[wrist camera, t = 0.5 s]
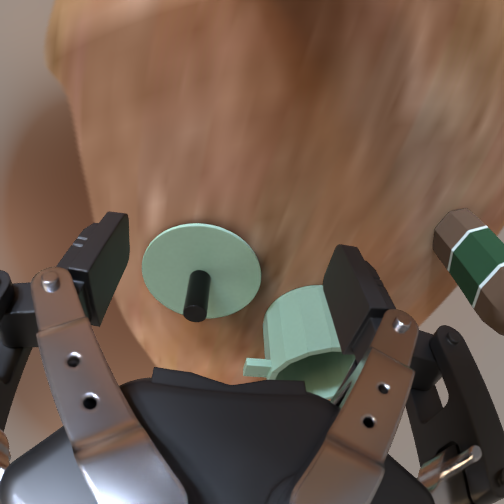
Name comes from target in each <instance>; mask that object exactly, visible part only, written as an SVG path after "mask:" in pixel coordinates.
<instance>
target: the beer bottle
mask: <svg viewBox="0 0 504 504" xmlns="http://www.w3.org/2000/svg"><path fill="white" fill-rule="evenodd" d="M433 250H434V251H435V253H436V254H437V256H438V258H439V259H440V260H441V262H442V263H443V264H444V266H445V267H446V269H447V270H448V271H449V273H450V274H451V276H452V277H453V279H454V280H455V281H456V283H457V284H458V286H459V287H460V289H461V290H462V292H463V293H464V295H465V296H466V298H467V299H468V301H469V302H470V304H471V305H472V307H473V309H474V310H475V311H476V313H477V314H478V315H479V317H480V318H481V320H482V321H483V322H485V323H486V324H487V325H488V326H490V327H491V328H492V329H494V330H495V331H496V332H497V333H499V334H501V335H504V244H503V242H502V241H501V240H500V239H499V238H498V237H497V236H496V235H495V234H494V233H493V232H492V231H491V230H490V229H489V228H488V227H487V226H486V225H485V224H484V223H483V222H482V221H481V220H480V219H479V218H478V217H477V216H476V215H475V214H473V213H472V212H471V211H470V210H468V209H466V208H465V209H460V210H456V211H451V212H448V214H447V215H446V216H445V217H444V218H443V220H442V221H441V222H440V223H439V224H438V226H437V227H436V228H435V233H434V241H433Z"/></svg>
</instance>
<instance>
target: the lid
mask: <svg viewBox="0 0 504 504" xmlns="http://www.w3.org/2000/svg"><path fill="white" fill-rule="evenodd" d="M142 274H143V278H144V282H145V284H146V286H147V288H148V289H149V291H150V292H151V294H152V295H153V296H154V297H155V298H156V299H157V300H158V301H159V302H160V303H162V304H163V305H164V306H166V307H167V308H169V309H171V310H173V311H175V312H177V313H180V314H182V315H184V317H185V318H186V319H187V320H189V321H192V322H201V321H203V320H205V319H206V318H218V317H223V316H227V315H230V314H233V313H235V312H237V311H239V310H241V309H242V308H244V307H245V306H246V305H248V304H249V303H250V302H251V301H252V299H253V298H254V297H255V295H256V293H257V292H258V289H259V287H260V283H261V268H260V264H259V261H258V258H257V256H256V254H255V252H254V251H253V250H252V248H251V247H250V246H249V245H248V244H247V243H246V242H245V241H244V240H243V239H241V238H240V237H239V236H237V235H236V234H234V233H232V232H231V231H228V230H226V229H224V228H221V227H218V226H214V225H209V224H200V223H194V224H184V225H179V226H176V227H172V228H170V229H168V230H166V231H164V232H162V233H161V234H159V235H158V236H157V237H156V238H155V239H154V240H153V241H152V242H151V243H150V244H149V246H148V248H147V249H146V252H145V254H144V257H143V261H142Z"/></svg>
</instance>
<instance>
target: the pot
mask: <svg viewBox="0 0 504 504" xmlns="http://www.w3.org/2000/svg"><path fill="white" fill-rule="evenodd" d="M263 335H264V349H265V359H255V358H247V359H246V362H245V365H244V368H243V376H252V377H266V379H267V380H269V379H270V380H298V381H305V386H306V391H307V392H311V393H313V394H316V395H319V396H321V397H323V398H325V399H332V398H333V396H334V394H335V393H336V391H337V389H338V387H339V386H340V384H341V382H342V380H343V379H344V377H345V375H346V373H347V372H348V370H349V368H350V366H351V364H352V363H353V361H354V360H355V355H342V351H341V348H340V344H339V341H338V337H337V334H336V330H335V327H334V324H333V320H332V317H331V314H330V310H329V307H328V304H327V301H326V298H325V294H324V291H323V285H312V286H305V287H301V288H298V289H295V290H292V291H290V292H288V293H286V294H284V295H282V296H281V297H279V298H278V299H277V300H275V301H274V302H273V303H272V304H271V305H270V307H269V308H268V310H267V311H266V314H265V316H264V323H263Z"/></svg>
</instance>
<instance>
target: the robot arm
mask: <svg viewBox="0 0 504 504" xmlns="http://www.w3.org/2000/svg"><path fill="white" fill-rule="evenodd" d="M129 253H130V245H129V218H128V215H127V214H125V213H117V212H107V213H106V215H105V216H104V217H103V219H102V220H101V221H100V222H99V223H93V224H91V225H90V226H88V227H87V228H85V229H84V230H83V231H82V232H81V234H80V235H79V236H78V239H76V240H75V241H74V243H73V246H71V247H70V248H69V250H68V251H67V252H66V254H65V255H64V256H63V258H62V259H61V260H60V262H59V263H58V265H57V266H56V267H50V268H46V269H44V270H41V271H40V272H38V273H37V274H36V275H35V276H34V277H33V279H32V281H31V283H17V284H12V282H11V279H10V276H9V274H8V273H6V272H5V271H1V270H0V504H492V503H494V502H497V501H498V500H501V499H503V498H504V431H503V428H502V425H501V423H500V420H499V417H498V414H497V412H496V409H495V407H494V404H493V402H492V399H491V397H490V394H489V392H488V389H487V387H486V385H485V383H484V380H483V378H482V376H481V374H480V371H479V369H478V367H477V365H476V363H475V361H474V359H473V357H472V355H471V352H470V350H469V348H468V346H467V344H466V342H465V340H464V339H463V337H462V336H461V334H460V333H459V332H458V331H456V330H455V329H453V328H452V327H450V326H446V325H443V326H440V327H439V328H438V329H437V331H436V332H435V333H434V335H433V334H430V333H426V332H423V331H420V330H419V328H418V325H417V323H416V321H415V320H414V319H413V318H412V317H411V316H410V315H409V314H407V313H406V312H404V311H401V310H398V309H396V308H395V306H394V304H393V302H392V300H391V298H390V296H389V294H388V292H387V290H386V289H385V287H384V285H383V283H382V281H381V280H380V277H379V276H378V274H377V272H376V270H375V269H374V268H373V267H372V266H371V265H370V264H369V263H368V262H367V261H364V259H363V257H362V255H361V253H360V251H359V250H358V248H357V247H353V246H347V245H341V244H339V245H337V246H336V248H335V250H334V253H333V255H332V258H331V260H330V263H329V265H328V268H327V270H326V273H325V276H324V279H323V291H324V294H325V298H326V301H327V304H328V307H329V310H330V314H331V317H332V320H333V324H334V327H335V330H336V334H337V337H338V341H339V344H340V348H341V351H342V355H355V360H354V361H353V363H352V364H351V366H350V368H349V370H348V372H347V373H346V375H345V377H344V379H343V380H342V382H341V384H340V386H339V387H338V389H337V391H336V393H335V394H334V396H333V398H332V399H331V401H328V400H327V399H325V398H323V397H321V396H319V395H316V394H313V393H311V392H307V391H306V386H305V381H298V380H270V379H269V380H263V381H257V382H251V383H245V384H238V385H228V384H224V383H221V382H218V381H215V380H212V379H209V378H206V377H203V376H200V375H197V374H194V373H192V372H184V371H177V370H170V369H164V368H157V367H154V370H153V375H152V378H143V379H137V380H134V381H130V382H127V383H125V384H122V385H120V386H119V385H118V383H117V381H116V379H115V377H114V376H113V373H112V371H111V369H110V367H109V365H108V363H107V361H106V359H105V357H104V355H103V352H102V350H101V348H100V345H99V343H98V341H97V339H96V336H95V334H94V332H93V329H92V327H91V325H94V326H99V327H100V325H101V323H102V320H103V318H104V315H105V313H106V310H107V308H108V306H109V304H110V301H111V299H112V297H113V294H114V292H115V290H116V288H117V285H118V283H119V281H120V279H121V277H122V274H123V272H124V270H125V268H126V266H127V263H128V260H129ZM32 347H39V351H40V354H41V358H42V362H43V365H44V370H45V373H46V376H47V380H48V383H49V386H50V389H51V392H52V396H53V398H54V401H55V404H56V407H57V410H58V413H59V415H60V418H61V421H62V423H63V426H62V427H61V428H60V429H58V430H57V431H56V432H54V433H53V434H51V435H50V436H49V437H47V438H46V439H45V440H43V441H42V442H40V443H39V444H37V445H36V446H35V447H33V448H32V449H30V450H29V451H27V452H26V453H25V454H23V455H22V456H20V457H19V458H17V459H16V460H15V461H13V462H12V463H11V464H10V463H9V461H10V458H11V455H10V452H9V443H8V439H7V437H6V435H5V433H4V429H5V425H6V421H7V418H8V414H9V411H10V407H11V405H12V401H13V398H14V395H15V392H16V389H17V386H18V384H19V381H20V378H21V375H22V373H23V370H24V367H25V365H26V362H27V360H28V357H29V355H30V352H31V350H32ZM441 377H443V379H444V382H445V385H446V388H447V390H448V394H449V399H448V402H447V404H446V406H445V407H444V408H443V407H442V404H441V401H440V398H439V395H438V392H437V389H436V386H435V384H436V383H437V382H438V380H439V379H440V378H441ZM405 406H406V409H407V413H408V417H409V420H410V424H411V428H412V432H413V436H414V440H415V445H416V448H417V453H418V457H419V462H420V467H421V468H420V470H419V475H418V478H415V477H414V476H413V475H412V474H410V473H409V472H408V471H407V470H406V469H405V468H404V467H402V466H401V465H400V464H399V463H398V462H397V461H396V460H394V459H393V458H392V457H391V456H390V455H389V454H388V451H389V449H390V447H391V444H392V441H393V439H394V436H395V434H396V431H397V428H398V426H399V423H400V420H401V417H402V414H403V411H404V408H405Z"/></svg>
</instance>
